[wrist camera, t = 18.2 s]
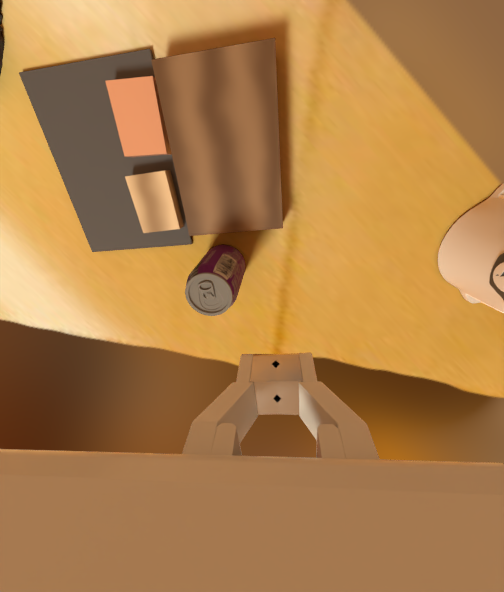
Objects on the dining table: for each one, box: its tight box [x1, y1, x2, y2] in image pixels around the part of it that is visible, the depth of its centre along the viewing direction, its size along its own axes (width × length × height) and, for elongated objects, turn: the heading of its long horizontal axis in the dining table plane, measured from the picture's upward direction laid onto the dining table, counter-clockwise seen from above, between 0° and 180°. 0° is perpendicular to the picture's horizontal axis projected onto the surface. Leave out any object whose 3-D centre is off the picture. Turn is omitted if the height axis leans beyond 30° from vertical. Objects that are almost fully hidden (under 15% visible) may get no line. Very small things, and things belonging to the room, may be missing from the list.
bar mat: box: [19, 49, 193, 252], centre depth 36 cm, size 18×24×1 cm
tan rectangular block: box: [125, 170, 184, 233], centre depth 37 cm, size 6×8×2 cm
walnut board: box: [151, 38, 283, 236], centre depth 33 cm, size 14×20×4 cm
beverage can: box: [185, 245, 245, 316], centre depth 37 cm, size 7×7×12 cm
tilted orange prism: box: [105, 76, 172, 157], centre depth 32 cm, size 6×8×2 cm
